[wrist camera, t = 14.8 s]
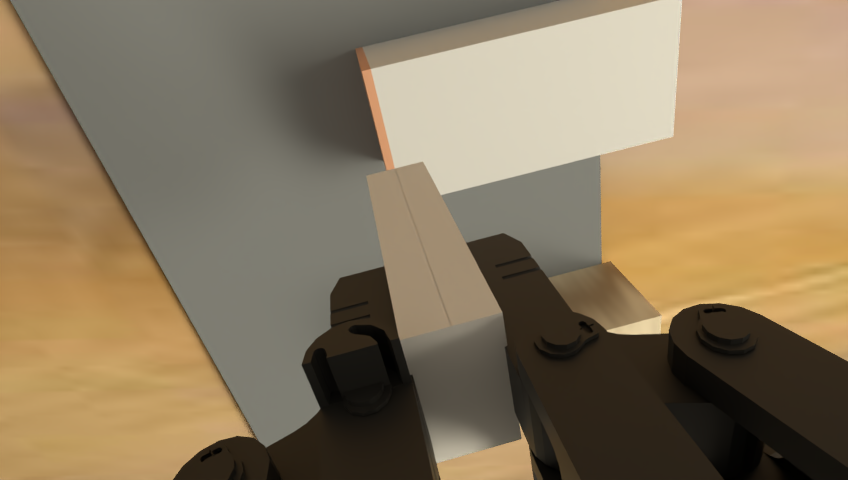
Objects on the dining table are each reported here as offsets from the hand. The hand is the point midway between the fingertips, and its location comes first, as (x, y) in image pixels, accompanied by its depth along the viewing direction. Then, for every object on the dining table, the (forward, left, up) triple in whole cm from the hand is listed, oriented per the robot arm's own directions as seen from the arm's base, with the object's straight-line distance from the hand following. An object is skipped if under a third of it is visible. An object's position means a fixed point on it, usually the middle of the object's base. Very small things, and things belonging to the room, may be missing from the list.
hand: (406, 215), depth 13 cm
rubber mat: (-1, -7, -10) cm, 12 cm away
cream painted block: (0, 0, -8) cm, 8 cm away
